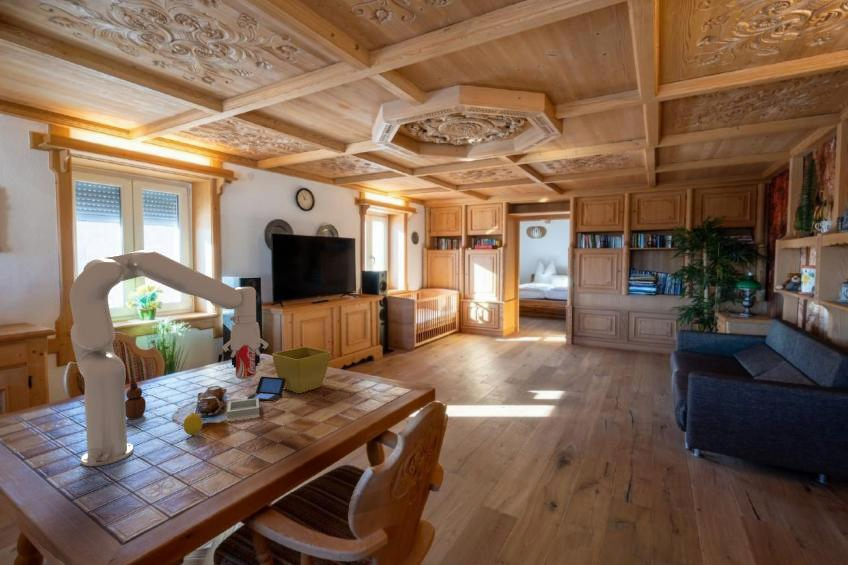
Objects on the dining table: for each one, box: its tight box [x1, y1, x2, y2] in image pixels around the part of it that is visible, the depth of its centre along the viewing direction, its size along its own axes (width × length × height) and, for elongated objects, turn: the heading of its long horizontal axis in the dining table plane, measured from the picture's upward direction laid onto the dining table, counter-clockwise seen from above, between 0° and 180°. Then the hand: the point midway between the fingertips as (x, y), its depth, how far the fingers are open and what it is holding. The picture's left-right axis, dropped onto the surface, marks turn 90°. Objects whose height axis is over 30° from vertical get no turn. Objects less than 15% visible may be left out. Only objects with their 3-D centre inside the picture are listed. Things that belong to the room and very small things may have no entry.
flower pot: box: [272, 346, 331, 394], centre depth 186 cm, size 19×19×17 cm
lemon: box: [183, 412, 203, 437], centre depth 136 cm, size 6×6×8 cm
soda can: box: [235, 345, 257, 380], centre depth 153 cm, size 7×7×13 cm
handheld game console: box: [246, 376, 286, 402], centre depth 174 cm, size 12×11×7 cm
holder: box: [226, 398, 260, 422], centre depth 156 cm, size 13×11×4 cm
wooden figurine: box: [125, 379, 147, 420], centre depth 151 cm, size 7×6×15 cm
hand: (246, 365), depth 153 cm, fingers closed on soda can, 7 cm apart
